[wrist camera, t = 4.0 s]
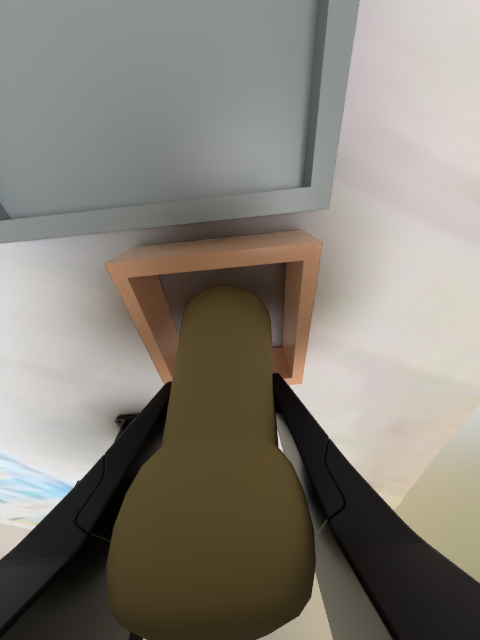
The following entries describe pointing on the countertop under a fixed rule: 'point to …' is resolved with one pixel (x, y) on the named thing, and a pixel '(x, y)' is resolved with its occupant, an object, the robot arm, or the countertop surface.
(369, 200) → the countertop surface
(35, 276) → the countertop surface
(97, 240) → the countertop surface
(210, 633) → the olive tapered piece
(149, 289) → the holder
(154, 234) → the countertop surface
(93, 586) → the robot arm
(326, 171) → the tray
